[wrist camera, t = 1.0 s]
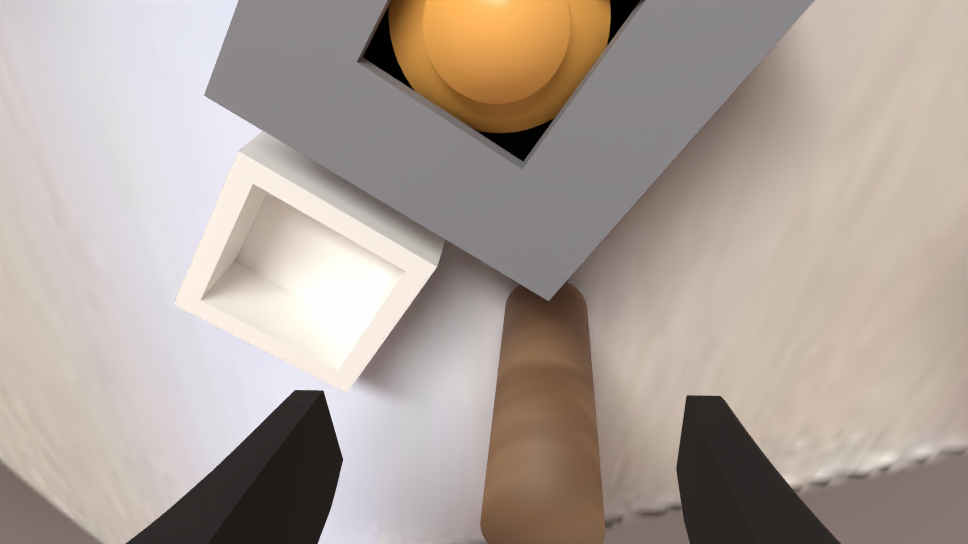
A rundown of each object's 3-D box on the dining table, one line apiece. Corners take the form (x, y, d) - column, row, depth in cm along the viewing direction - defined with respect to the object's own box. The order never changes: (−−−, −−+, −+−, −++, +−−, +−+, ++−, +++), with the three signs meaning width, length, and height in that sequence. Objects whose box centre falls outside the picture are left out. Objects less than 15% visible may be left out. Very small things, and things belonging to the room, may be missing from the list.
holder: (451, 221, 20) (437, 266, 18) (369, 339, 24) (346, 392, 21) (280, 117, 19) (238, 150, 16) (216, 257, 22) (173, 304, 20)
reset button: (653, -16, 13) (663, -7, 12) (527, 158, 16) (525, 179, 15) (465, -161, 12) (456, -167, 11) (361, 50, 15) (344, 63, 14)
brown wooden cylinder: (604, 304, 22) (631, 525, 14) (554, 356, 23) (556, 580, 16) (536, 263, 21) (526, 470, 13) (489, 318, 22) (457, 533, 15)
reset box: (780, -61, 15) (856, -47, 11) (549, 225, 20) (548, 301, 16) (444, -343, 13) (400, -443, 9) (277, 53, 18) (203, 95, 14)
